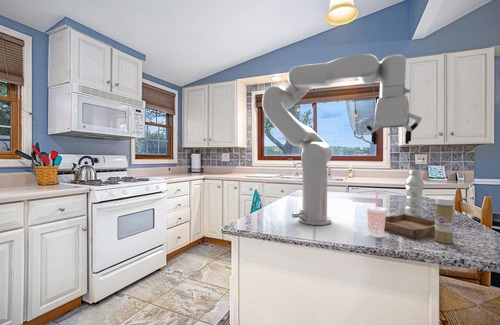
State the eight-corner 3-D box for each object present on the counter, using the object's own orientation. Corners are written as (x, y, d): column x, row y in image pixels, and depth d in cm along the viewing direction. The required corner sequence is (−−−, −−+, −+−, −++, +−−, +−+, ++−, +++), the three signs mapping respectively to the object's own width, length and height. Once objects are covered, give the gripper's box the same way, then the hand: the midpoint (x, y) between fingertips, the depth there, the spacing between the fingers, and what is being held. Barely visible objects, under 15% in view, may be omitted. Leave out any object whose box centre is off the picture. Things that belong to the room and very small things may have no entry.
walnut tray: (413, 239, 79) (413, 230, 79) (371, 226, 94) (371, 218, 94) (448, 232, 86) (448, 223, 86) (403, 221, 101) (403, 213, 101)
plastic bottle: (426, 220, 103) (427, 171, 102) (407, 219, 104) (409, 170, 103) (419, 216, 109) (420, 170, 108) (401, 215, 110) (402, 169, 110)
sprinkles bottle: (433, 241, 78) (434, 198, 77) (434, 237, 81) (436, 196, 81) (452, 245, 75) (454, 199, 74) (453, 241, 78) (454, 197, 78)
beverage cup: (385, 239, 80) (386, 195, 79) (364, 236, 83) (365, 193, 82) (387, 234, 85) (387, 192, 84) (367, 231, 88) (367, 191, 88)
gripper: (423, 92, 84) (421, 144, 85) (367, 98, 95) (366, 144, 95) (422, 87, 78) (420, 143, 79) (362, 95, 89) (361, 144, 89)
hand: (390, 144), depth 87 cm, fingers open, 9 cm apart
